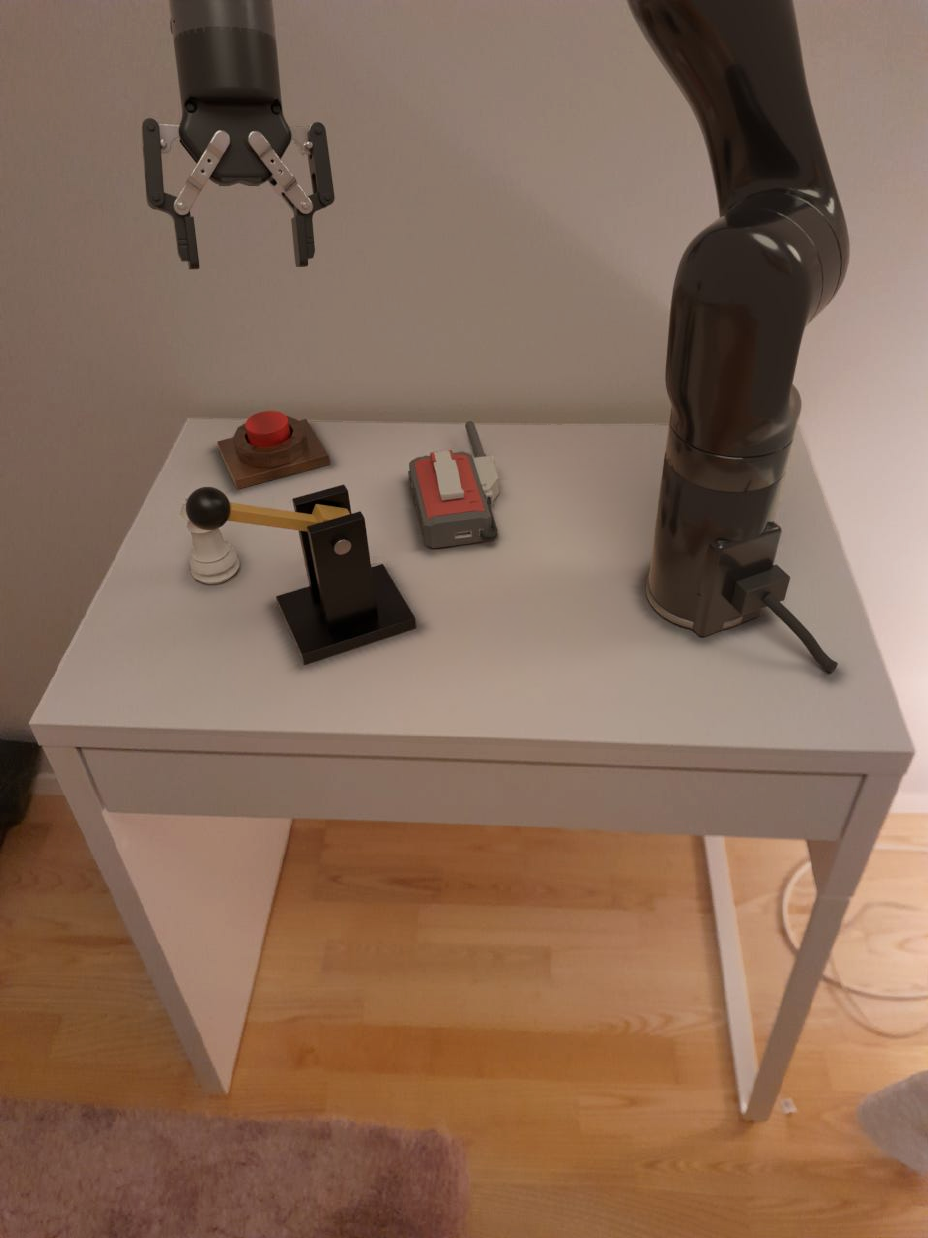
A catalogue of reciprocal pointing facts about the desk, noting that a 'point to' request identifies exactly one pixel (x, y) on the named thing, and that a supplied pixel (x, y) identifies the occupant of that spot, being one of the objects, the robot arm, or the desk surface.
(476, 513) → the walkie-talkie
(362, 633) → the black lever base
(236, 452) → the block
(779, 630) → the desk surface
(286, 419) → the button
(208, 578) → the rook chess piece
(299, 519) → the lever
